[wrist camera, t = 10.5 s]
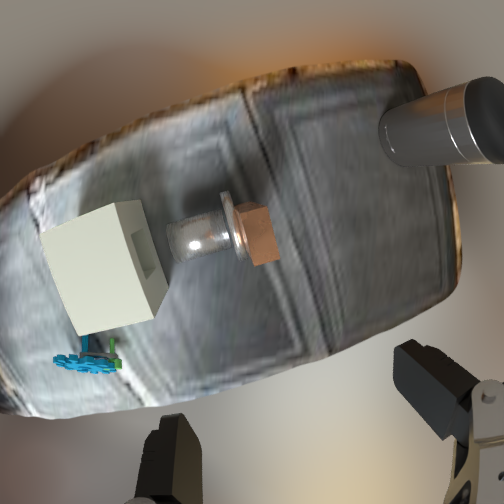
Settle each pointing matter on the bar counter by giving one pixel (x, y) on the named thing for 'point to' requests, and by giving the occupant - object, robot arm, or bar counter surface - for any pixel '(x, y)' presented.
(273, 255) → the wood and metal l-shape
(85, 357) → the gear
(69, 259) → the block
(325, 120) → the bar counter surface
